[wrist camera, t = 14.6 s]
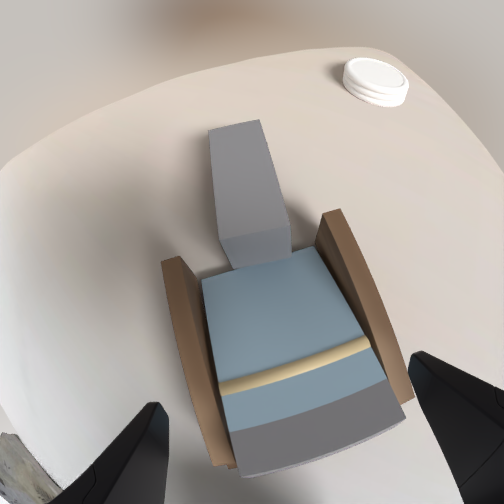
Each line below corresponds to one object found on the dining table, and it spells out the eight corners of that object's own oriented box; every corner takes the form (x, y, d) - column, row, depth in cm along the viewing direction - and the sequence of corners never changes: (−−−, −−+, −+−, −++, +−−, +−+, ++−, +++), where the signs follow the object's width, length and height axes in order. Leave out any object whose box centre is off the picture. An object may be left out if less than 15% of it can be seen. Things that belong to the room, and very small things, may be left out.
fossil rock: (105, 520, 15) (94, 528, 13) (78, 566, 11) (69, 572, 8) (5, 417, 20) (-8, 417, 17) (-8, 479, 15) (-18, 480, 13)
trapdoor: (250, 477, 14) (239, 477, 12) (211, 300, 26) (200, 278, 24) (393, 427, 15) (407, 417, 12) (314, 269, 26) (313, 244, 24)
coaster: (334, 71, 37) (336, 54, 34) (388, 75, 37) (392, 59, 34) (354, 107, 33) (358, 87, 30) (414, 111, 33) (421, 93, 30)
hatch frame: (231, 463, 18) (220, 484, 14) (180, 282, 25) (160, 261, 20) (393, 408, 19) (419, 415, 14) (329, 237, 26) (340, 208, 21)
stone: (290, 225, 19) (259, 119, 25) (219, 240, 20) (208, 130, 26) (291, 257, 24) (264, 155, 30) (233, 269, 24) (219, 165, 30)
